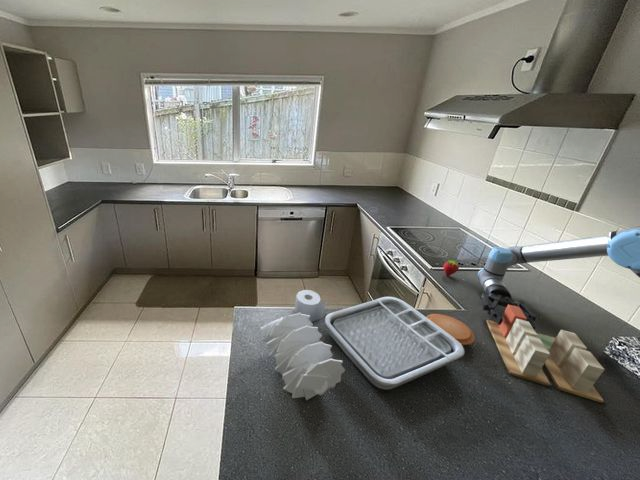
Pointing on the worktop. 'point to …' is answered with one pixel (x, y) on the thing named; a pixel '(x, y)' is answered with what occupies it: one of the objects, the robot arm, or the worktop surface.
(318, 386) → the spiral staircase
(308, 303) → the toilet tissue
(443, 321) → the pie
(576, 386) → the cubes on wooden plank
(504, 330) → the red rectangular block
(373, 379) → the dish rack
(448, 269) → the strawberry
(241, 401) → the worktop surface
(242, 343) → the worktop surface
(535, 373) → the wooden base with cubes
